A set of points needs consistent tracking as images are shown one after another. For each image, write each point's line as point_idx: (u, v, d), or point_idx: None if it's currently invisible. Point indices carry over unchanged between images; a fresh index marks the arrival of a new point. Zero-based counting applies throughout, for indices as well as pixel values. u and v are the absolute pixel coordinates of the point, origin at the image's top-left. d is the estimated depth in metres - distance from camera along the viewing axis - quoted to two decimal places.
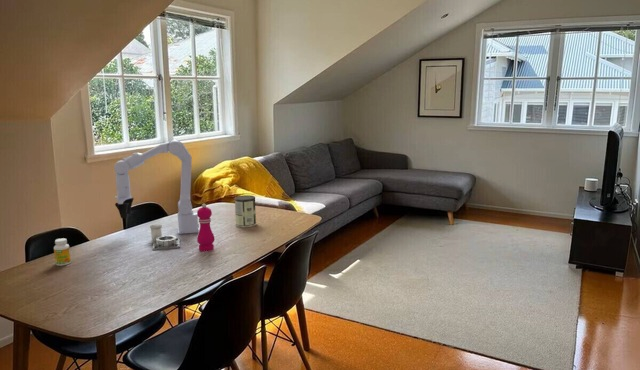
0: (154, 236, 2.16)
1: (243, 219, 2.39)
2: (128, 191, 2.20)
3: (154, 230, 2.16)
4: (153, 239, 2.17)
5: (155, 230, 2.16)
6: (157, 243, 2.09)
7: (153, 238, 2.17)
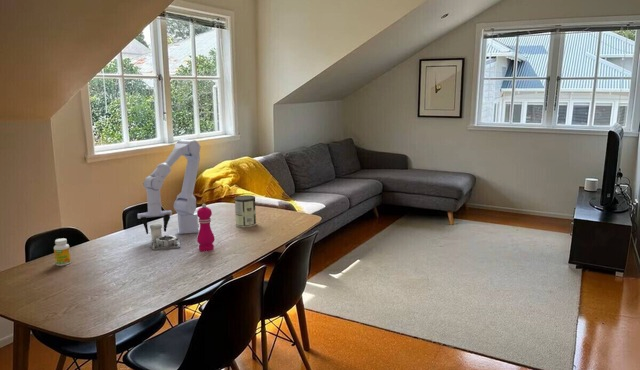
0: (154, 236, 2.16)
1: (243, 219, 2.39)
2: (151, 208, 2.13)
3: (154, 230, 2.16)
4: (153, 239, 2.17)
5: (155, 230, 2.16)
6: (157, 243, 2.09)
7: (153, 238, 2.17)
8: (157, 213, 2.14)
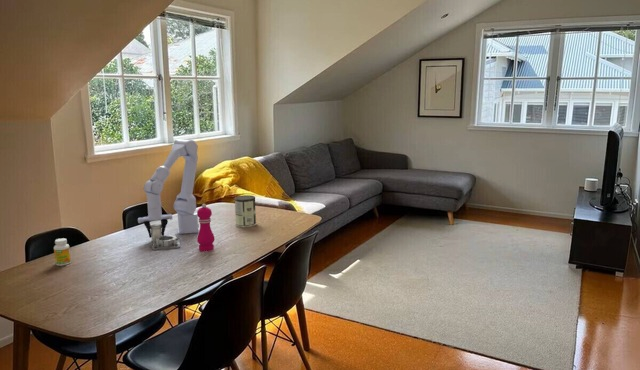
0: (154, 236, 2.16)
1: (243, 219, 2.39)
2: (152, 212, 2.14)
3: (154, 230, 2.16)
4: (153, 239, 2.17)
5: (155, 230, 2.16)
6: (157, 243, 2.09)
7: (153, 238, 2.17)
8: (157, 217, 2.15)
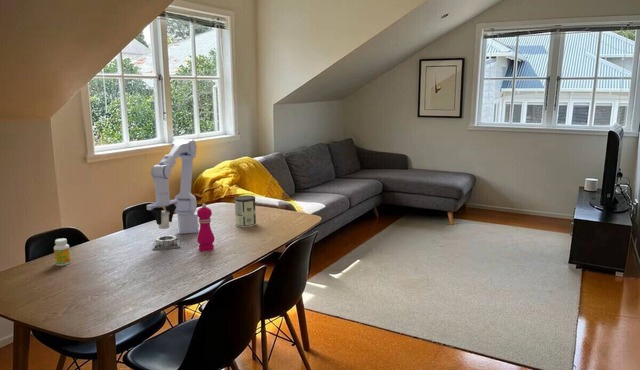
0: (163, 223, 2.09)
1: (243, 219, 2.39)
2: (162, 198, 2.06)
3: (164, 216, 2.08)
4: (162, 226, 2.09)
5: (165, 216, 2.08)
6: (157, 243, 2.09)
7: (162, 225, 2.09)
8: (168, 202, 2.08)
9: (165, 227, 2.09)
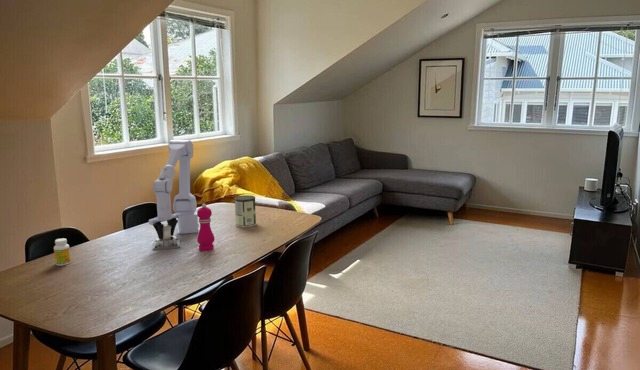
0: (165, 237, 2.09)
1: (243, 219, 2.39)
2: (164, 212, 2.07)
3: (166, 231, 2.09)
4: None
5: (167, 231, 2.09)
6: (157, 243, 2.09)
7: (164, 239, 2.10)
8: (170, 217, 2.09)
9: None
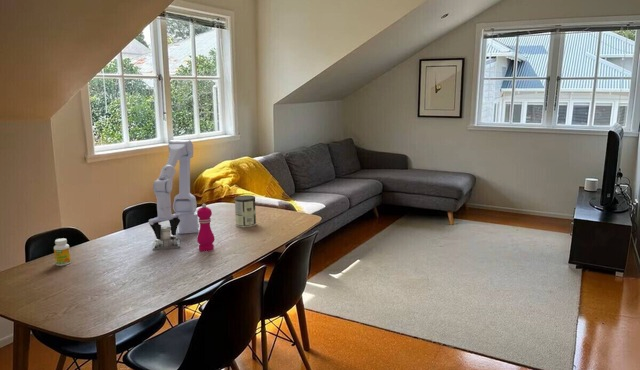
0: (165, 239, 2.10)
1: (243, 219, 2.39)
2: (164, 212, 2.07)
3: (165, 232, 2.09)
4: None
5: (166, 232, 2.09)
6: (157, 243, 2.09)
7: None
8: (170, 217, 2.09)
9: None
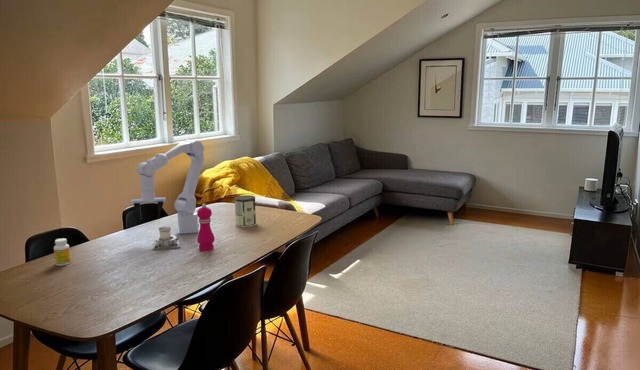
0: (165, 239, 2.10)
1: (243, 219, 2.39)
2: (144, 194, 2.13)
3: (165, 232, 2.09)
4: None
5: (166, 232, 2.09)
6: (157, 243, 2.09)
7: None
8: (150, 200, 2.14)
9: None
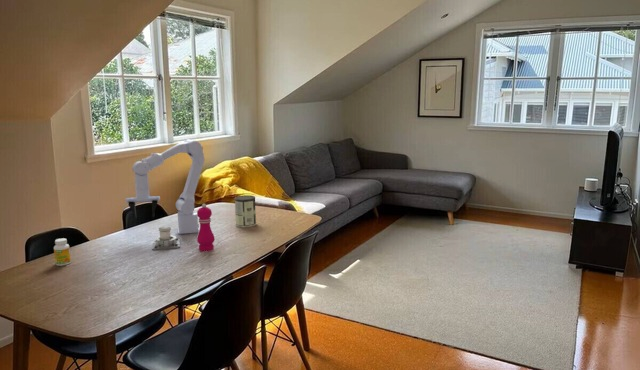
0: (165, 239, 2.10)
1: (243, 219, 2.39)
2: (138, 193, 2.16)
3: (165, 232, 2.09)
4: None
5: (166, 232, 2.09)
6: (157, 243, 2.09)
7: None
8: (144, 198, 2.16)
9: None
